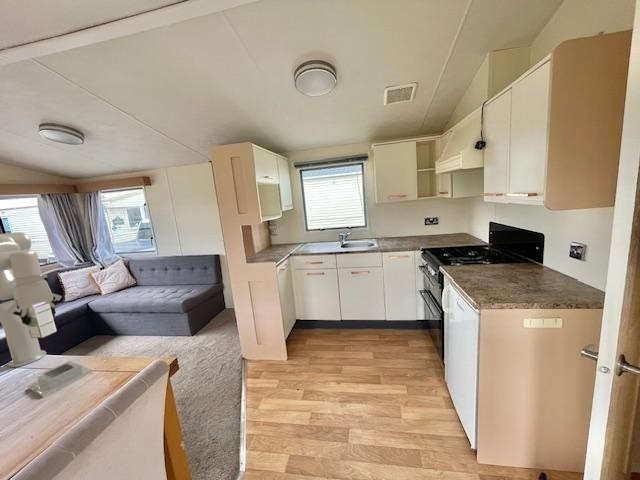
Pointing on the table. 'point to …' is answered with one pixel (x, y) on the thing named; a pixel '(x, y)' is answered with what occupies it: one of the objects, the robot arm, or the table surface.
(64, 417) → the table surface
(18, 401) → the table surface
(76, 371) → the square socket
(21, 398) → the table surface
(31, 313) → the syrup box
